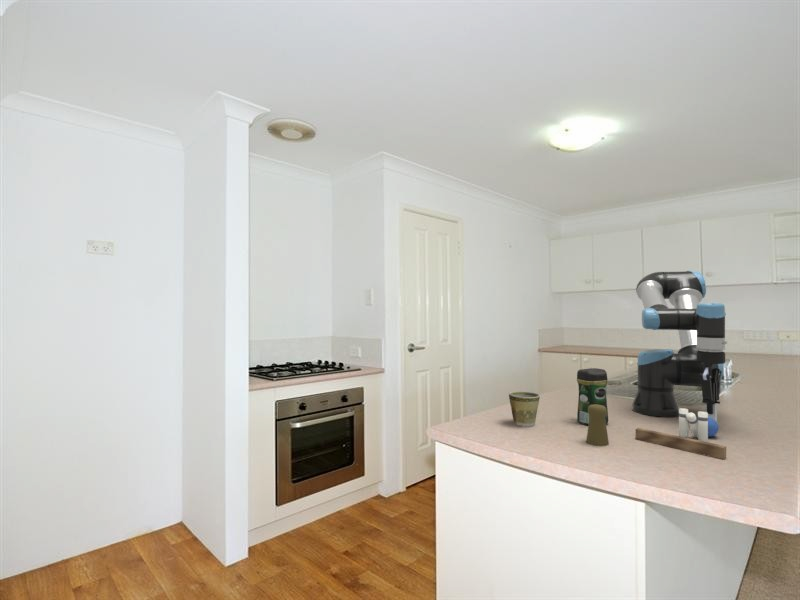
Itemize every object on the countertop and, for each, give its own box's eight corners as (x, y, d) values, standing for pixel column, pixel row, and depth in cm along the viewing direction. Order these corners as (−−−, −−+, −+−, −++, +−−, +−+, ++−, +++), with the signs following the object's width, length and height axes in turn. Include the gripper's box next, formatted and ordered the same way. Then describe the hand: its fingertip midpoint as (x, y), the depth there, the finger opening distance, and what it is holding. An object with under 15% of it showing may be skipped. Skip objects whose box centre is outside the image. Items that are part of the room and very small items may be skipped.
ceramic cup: (533, 430, 140) (533, 398, 140) (504, 424, 146) (504, 394, 146) (546, 421, 150) (546, 392, 151) (519, 416, 157) (519, 388, 157)
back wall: (635, 438, 131) (635, 428, 131) (638, 437, 132) (638, 427, 132) (723, 459, 114) (723, 447, 114) (726, 457, 115) (726, 446, 115)
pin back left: (678, 437, 132) (678, 409, 132) (679, 435, 134) (679, 407, 134) (687, 439, 131) (687, 410, 131) (689, 437, 132) (689, 408, 132)
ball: (700, 409, 135) (700, 421, 139) (691, 422, 133) (690, 434, 136) (723, 418, 131) (721, 430, 134) (713, 431, 129) (712, 444, 132)
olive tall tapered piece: (611, 446, 124) (611, 407, 124) (588, 445, 125) (588, 406, 125) (605, 440, 130) (605, 403, 130) (584, 438, 131) (584, 402, 131)
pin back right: (697, 441, 128) (697, 412, 128) (698, 439, 130) (698, 410, 130) (707, 443, 127) (707, 413, 127) (708, 441, 129) (708, 412, 129)
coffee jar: (594, 418, 154) (594, 366, 154) (612, 424, 146) (612, 369, 147) (572, 421, 150) (572, 367, 151) (590, 427, 143) (589, 370, 143)
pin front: (692, 437, 133) (685, 418, 129) (692, 430, 134) (685, 412, 131) (701, 438, 131) (695, 419, 128) (702, 431, 133) (695, 412, 129)
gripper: (718, 353, 134) (718, 429, 134) (731, 350, 142) (731, 422, 142) (690, 350, 140) (690, 424, 139) (704, 348, 148) (704, 417, 148)
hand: (711, 423), depth 141 cm, fingers closed
